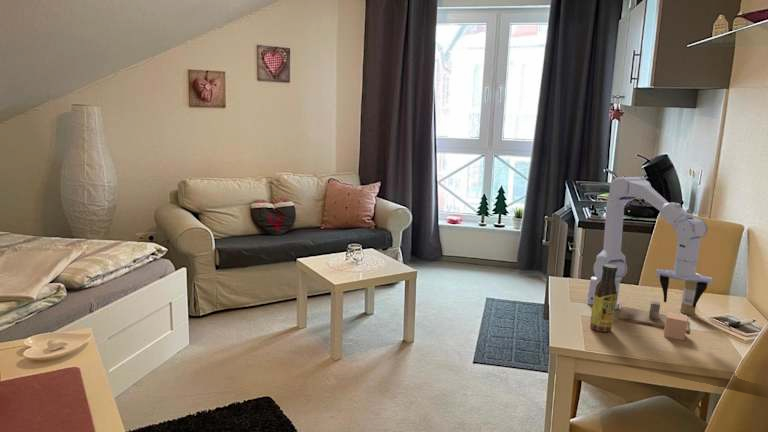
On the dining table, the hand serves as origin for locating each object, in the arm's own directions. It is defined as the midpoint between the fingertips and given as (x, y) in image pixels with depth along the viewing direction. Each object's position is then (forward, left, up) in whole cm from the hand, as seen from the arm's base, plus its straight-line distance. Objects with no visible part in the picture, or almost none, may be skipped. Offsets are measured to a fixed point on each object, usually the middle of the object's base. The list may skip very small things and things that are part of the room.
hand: (679, 303), depth 174 cm
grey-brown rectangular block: (-6, +10, -10) cm, 15 cm away
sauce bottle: (-20, -7, -10) cm, 24 cm away
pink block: (0, 0, -10) cm, 10 cm away
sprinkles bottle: (+4, +24, -10) cm, 26 cm away
